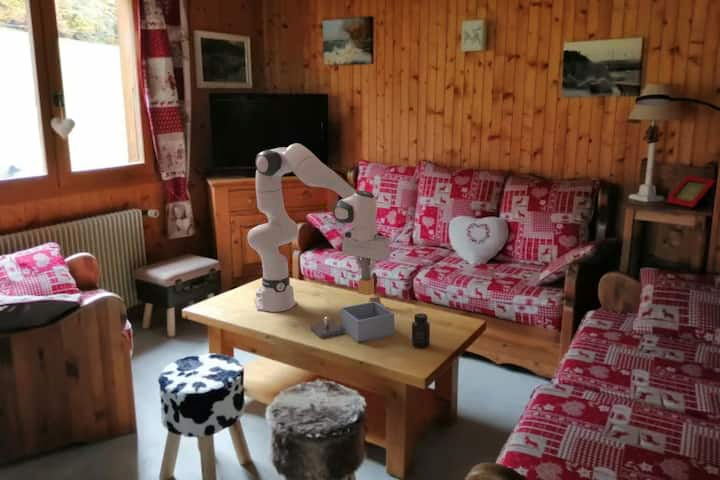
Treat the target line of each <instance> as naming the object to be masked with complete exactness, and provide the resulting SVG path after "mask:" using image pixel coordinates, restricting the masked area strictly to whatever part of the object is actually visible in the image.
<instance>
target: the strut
mask: <svg viewBox="0 0 720 480" xmlns="http://www.w3.org/2000/svg"><path fill="white" fill-rule="evenodd" d="M360 259H361V268H360V270H361V278H360V279H358V294H360V295H365V296H370V295H372V294H373V292H374V279H373V278H372V274H371V273H372V272H371V271H372V270H371V269H369V265H370V264H371V263H372V261H371V259H370V258H364V257H361V258H360Z"/></svg>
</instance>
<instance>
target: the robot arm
mask: <svg viewBox="0 0 720 480" xmlns="http://www.w3.org/2000/svg"><path fill="white" fill-rule="evenodd" d="M254 161H255V168H256V171H255V193H256V204H257V209H258V210H259V212H260V213H262V214H264V215H265V216H266V217H267V220H268V222H266V223H262V224H258V225H257V226H255V227H252V228H251V229H249V231H248V233H247V237H246V238H247V243H248V245H249V246H250V248H251V249H253V250H254V251H256V252H257V254H258V255H259V257H260V260H261V265H262V275H263V276H262V278H261V279H262V280H261V286H260V287H258V291H255V297H254V298H253V302H254V305H255V309H256V311H260V312H261V311H263V312H270V313H271V312H273V313H278V312H284V311H288V310H291V309H292V308H293V307H294V306H295V305H297V304H298V301H297V300H296V299H295V296H294V287H293V286H292V285H291V281H290V280H291V279H290V275H289V266H288V265H289V264H288V259H287V257H286V256H285V255H284V254H281V253H280V250H279V247H280V246H283V245H287V244H289V243H291V242H293V241H295V240H296V239H297V238H298V236H299V230H300V229H299V226H298V224H297V222H295V220H293V219H292V218H291V217H290V216H289V214H288V212H287V211H286V207H285V203H284V198H283V197H284V196H283V189H282V188H283V187H282V177H283V176H284V175H291V174H292V173H293V174H294V175H295V176H296V177H297V178H298V179H299V180H300V182H302V183H304V184H305V185H306V186H309V187H312V188H313V187H315V188H316V187H317V188H324V189H329V190H331V191H334V192H335V193H337V194H338V195H339V196H340V197H341V199H339V200H337V201H335V203H334V204H333V206H332V216H333V218H334V219H335V221H337V223H340V224H349V223H352V224H353V228H351V229H347V230H345V231H343V232H342V237H343V238H342V241H341V252H342V254H343V255H347V256H352V257H354V259H355V261H356V262H357V268H360V269H361V257H364V258H370V259H371V264H370V265H369V269H371V271H372V270H374V269H375V264H376V263H377V261H382V262H385V261H387V260H389V259H390V257H391V249H390V240H389V238H387V237H386V236H385V235H379V234H378V224H377V215H378V212H377V211H378V209H377V199H376V197H375V194H374V193H372V192H370V191H367V190H357V189H356V188H355V187H354V186H353V185H351V184H350V183H349V182H348V181H347V180H346V179H345V178H343V177H342V176H341V175H340V174H338V173H337V172H336V171H334V170H333V169H331V168H329V166H327V165H326V164H324V163H323V162H322V161H321V160H320V159H319V158H318V157H317V156H316V155H315V154H314V153H313V152H312V151H311V150H310V149H308V148H307V147H306V146H305V145H303V144H301V143H295V142H294V143H293V144H290V145H289V146H288V147H285V146H283V147H276V148H272V149H265V150H262V151H261V152H259V153H257V155H256V158H255V160H254Z"/></svg>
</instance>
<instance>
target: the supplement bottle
mask: <svg viewBox="0 0 720 480" xmlns="http://www.w3.org/2000/svg"><path fill="white" fill-rule="evenodd" d="M413 318H414V320H413V321H412V324H411V344H412V346H413V347H414V348H416V349H426V348H429V347H430V345H431V324H430V322H429V321H428V320H429V319H428V314H426V313H423V312H421V313H419V312H418V313H416V314H414V317H413Z"/></svg>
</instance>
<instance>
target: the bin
mask: <svg viewBox="0 0 720 480" xmlns="http://www.w3.org/2000/svg"><path fill="white" fill-rule="evenodd" d="M339 320H340V325H339V326H340V327H342V328H343V333H345V334H346V335H347V336H349V337H350V339H352V340H353V341H355V342H356V343H357V344H361V343H364V342H369V341H373V340H378V339H382V338H383V339H384V338H387V337H391V336H392V337H393V336H395V313H394V312H392V311H391V310H389V309H388V308H386V307H385V306H384V307H383V306H381V305H380V304H378V303H377V302H375V301H374V302H369V301H368V302H364V303H359V304H354V305H349V306H342V307H340V308H339Z"/></svg>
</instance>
